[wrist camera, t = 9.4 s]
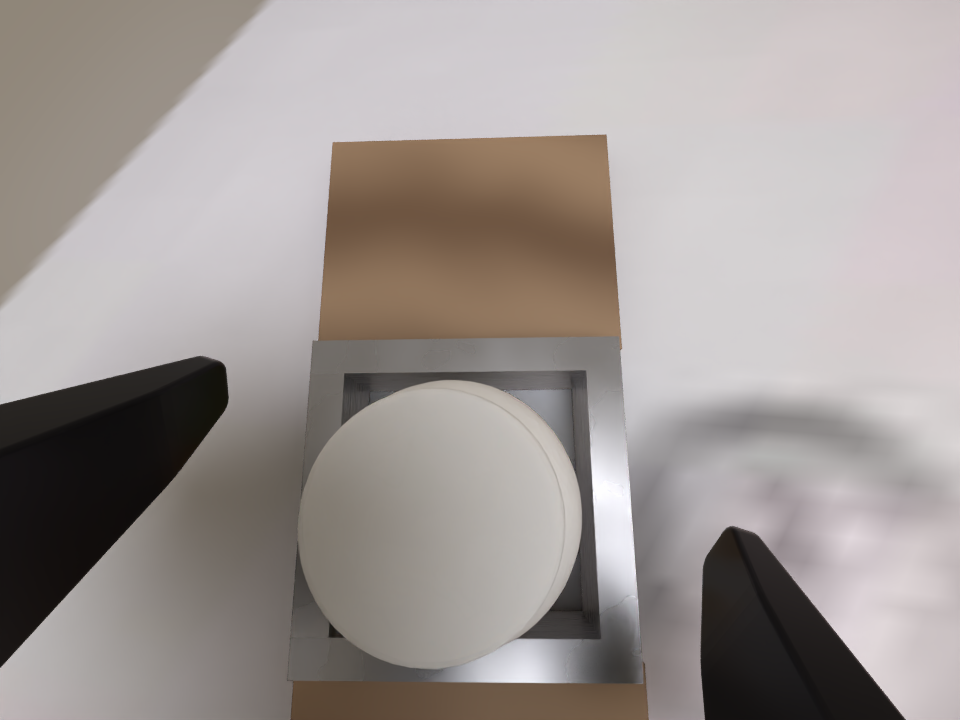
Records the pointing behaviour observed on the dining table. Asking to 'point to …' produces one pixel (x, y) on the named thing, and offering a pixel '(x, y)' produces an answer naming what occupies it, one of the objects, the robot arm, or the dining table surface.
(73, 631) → the dining table surface
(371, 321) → the brown flat rectangular board
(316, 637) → the grey square frame
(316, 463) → the supplement bottle
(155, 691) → the dining table surface
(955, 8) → the dining table surface
